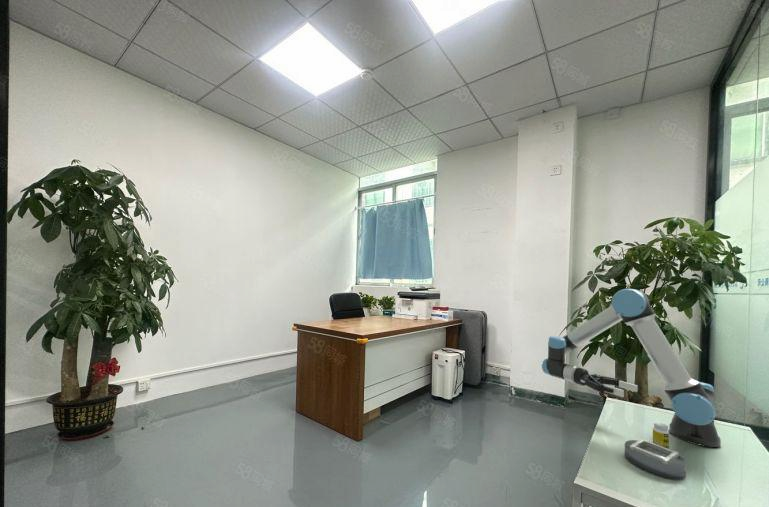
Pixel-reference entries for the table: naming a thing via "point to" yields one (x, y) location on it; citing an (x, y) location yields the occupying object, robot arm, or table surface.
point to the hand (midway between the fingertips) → (630, 391)
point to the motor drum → (655, 459)
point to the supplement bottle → (661, 435)
